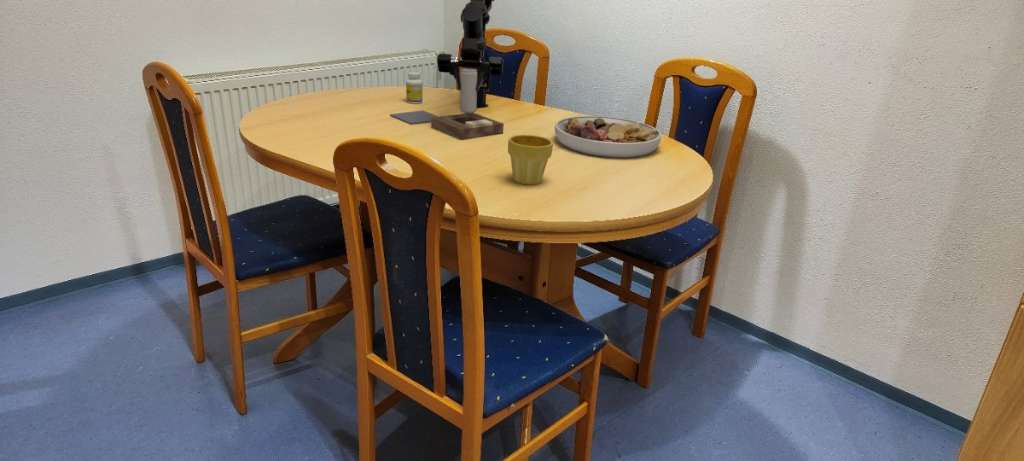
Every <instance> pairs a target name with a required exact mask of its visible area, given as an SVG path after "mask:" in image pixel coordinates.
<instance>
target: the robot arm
mask: <svg viewBox="0 0 1024 461" xmlns="http://www.w3.org/2000/svg"><path fill="white" fill-rule="evenodd" d="M493 2H495V0H469V2H467V3H466V4H465V7H464V8H463V9H462V11H461V14H460V22H461V23H462V29H463V36H462V38H461V47H460V54H459V57H460V59H459V58H458V57H454V56H453V55H452V54H451V53H439V54H438V55H437V58H436V61H437V62H436V63H437V70H438V72H440V73H447V74H448V73H449V75H450V76H453V78H454V80H455V83H456V86H457V89H458V91H460V72H461V70H460V69H463V68H472V69H476V70H477V87H476V91H477V106H476V109H477V108H485V107H487V108H488V107H489V104H487V90H489V89H491V88H492V76H493V77H501V76H503V72H504V71H503V70H504V59H503V58H502V57H501V56H500V57H499V56H489V60H488V61H486V59H485V58H484V57H485V51H486V48H487V47H486V46H487V37H486V32H487V31H486V27H487V25H488V24H489V22H490V20H491V16H490V14H489V13H490V11H491V10H492V7H493Z"/></svg>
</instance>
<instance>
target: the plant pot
mask: <svg viewBox="0 0 1024 461" xmlns="http://www.w3.org/2000/svg"><path fill="white" fill-rule="evenodd" d="M553 146H554V142H553V140H551V139H550V138H548V137H546V136H541V135H536V134H527V133H526V134H513V135H512V136H509V138H508V143H507V153H508V154H509V155H510V163H511V170H512V173H511V174H512V179H513V181H514V182H516V183H517V184H522V185H530V186H533V185H538V184H540V183H541V182H542V180H543V177H544V173H545V170H546V166H547V163H548V161H549V159H550V158H551V157H552V155H553Z"/></svg>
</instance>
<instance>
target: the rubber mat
mask: <svg viewBox="0 0 1024 461" xmlns="http://www.w3.org/2000/svg"><path fill="white" fill-rule="evenodd" d="M389 116H390V117H391V118H394V119H397V120H398V121H401V122H404V123H406V124H408V125H411V126H412V125H419V124H426V123H431V118H432V117H440V116H438V115H436V114H433V113H430V112H427V111H426V110H423V109H422V110H416V111H414V110H413V111H407V112H398V113H397V112H396V113H390V114H389Z"/></svg>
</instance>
